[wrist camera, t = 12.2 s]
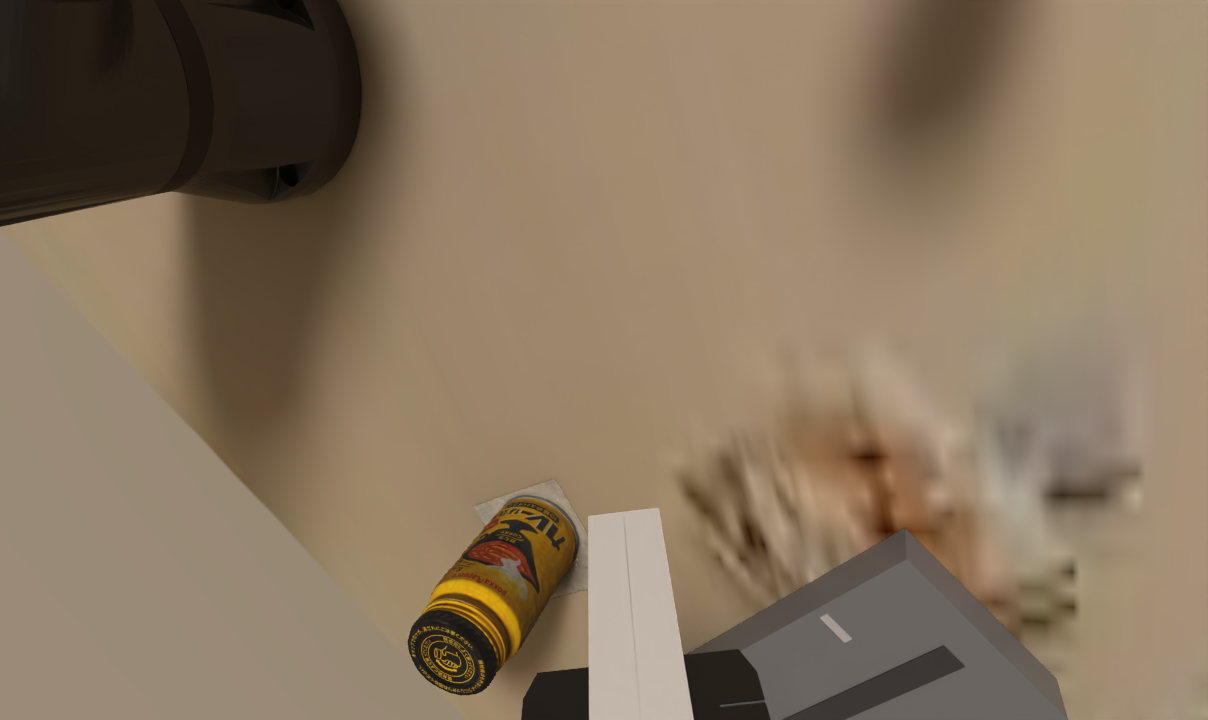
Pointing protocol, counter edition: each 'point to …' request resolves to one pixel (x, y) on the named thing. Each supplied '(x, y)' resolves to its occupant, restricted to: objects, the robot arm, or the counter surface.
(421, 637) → the condiment
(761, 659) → the console
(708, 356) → the counter surface
